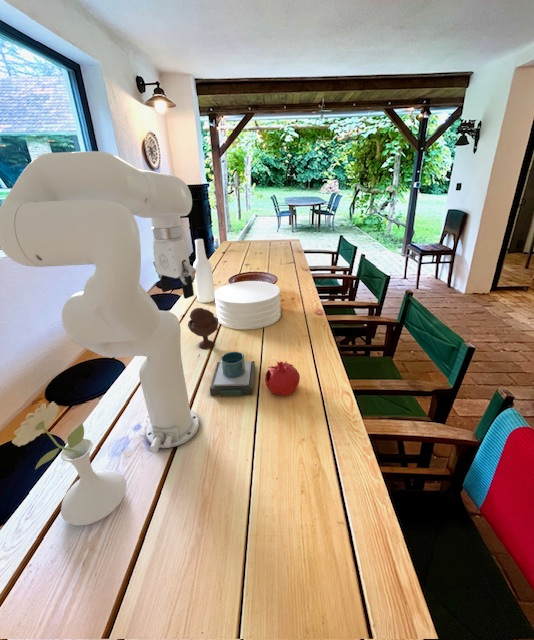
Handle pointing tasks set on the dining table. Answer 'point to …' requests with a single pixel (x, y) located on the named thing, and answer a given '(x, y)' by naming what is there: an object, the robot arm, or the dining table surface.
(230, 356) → the teal cup
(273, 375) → the pomegranate
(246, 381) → the scale
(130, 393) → the dining table surface
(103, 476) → the flower in vase
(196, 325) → the ice cream bowl
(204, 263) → the alcohol
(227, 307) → the plate stack
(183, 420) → the robot arm
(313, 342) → the dining table surface
